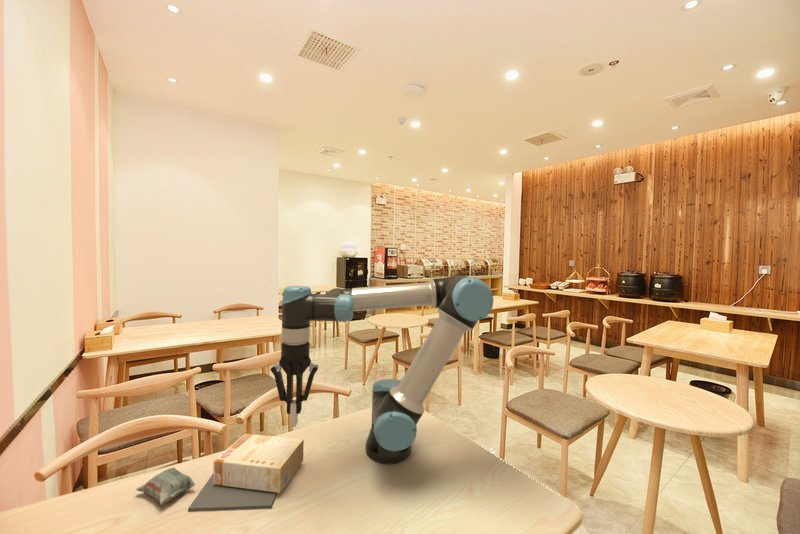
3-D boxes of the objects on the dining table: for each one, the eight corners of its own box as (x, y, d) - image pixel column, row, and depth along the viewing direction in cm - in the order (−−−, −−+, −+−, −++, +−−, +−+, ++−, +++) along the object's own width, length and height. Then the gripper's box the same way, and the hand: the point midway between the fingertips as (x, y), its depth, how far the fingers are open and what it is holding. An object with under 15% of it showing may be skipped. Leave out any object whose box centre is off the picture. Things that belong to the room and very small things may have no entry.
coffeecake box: (303, 461, 103) (244, 454, 105) (304, 438, 103) (245, 431, 105) (279, 494, 88) (212, 485, 91) (280, 468, 88) (212, 459, 90)
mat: (289, 461, 103) (289, 459, 103) (271, 508, 84) (271, 505, 84) (222, 463, 102) (222, 460, 102) (188, 511, 83) (188, 508, 83)
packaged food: (160, 513, 82) (161, 494, 82) (135, 496, 87) (135, 477, 87) (196, 492, 90) (196, 474, 90) (171, 477, 95) (171, 460, 95)
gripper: (321, 338, 97) (319, 417, 98) (275, 337, 96) (273, 418, 97) (317, 345, 90) (315, 431, 91) (267, 345, 89) (265, 431, 90)
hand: (293, 424), depth 94 cm, fingers closed
